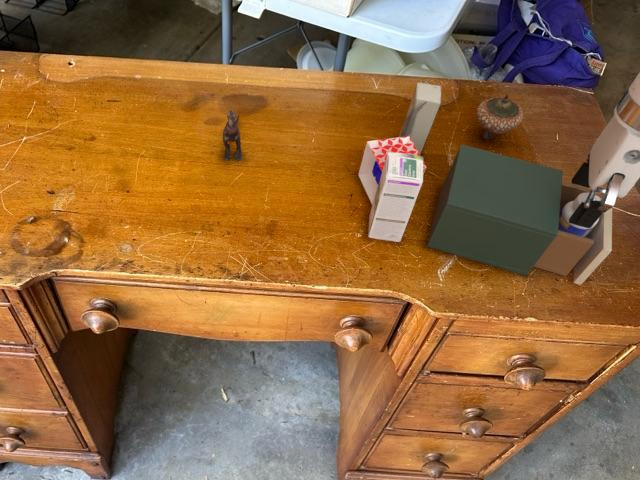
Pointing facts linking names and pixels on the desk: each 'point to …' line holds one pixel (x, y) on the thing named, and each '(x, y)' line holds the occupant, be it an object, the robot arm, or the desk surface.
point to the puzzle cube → (381, 160)
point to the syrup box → (395, 196)
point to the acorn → (499, 115)
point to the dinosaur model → (232, 136)
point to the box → (421, 114)
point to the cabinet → (497, 210)
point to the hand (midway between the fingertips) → (580, 203)
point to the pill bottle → (568, 212)
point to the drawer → (578, 243)
